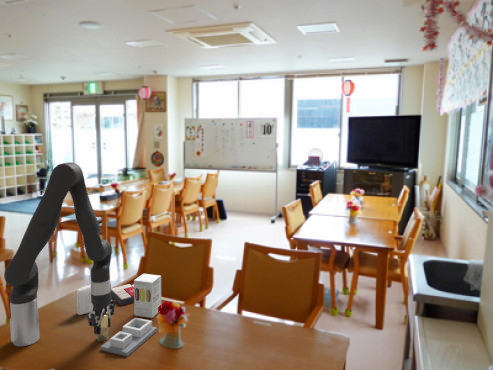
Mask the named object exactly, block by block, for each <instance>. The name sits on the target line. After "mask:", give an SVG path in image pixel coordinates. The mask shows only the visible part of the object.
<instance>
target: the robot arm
mask: <svg viewBox="0 0 493 370" xmlns="http://www.w3.org/2000/svg"><path fill="white" fill-rule="evenodd" d="M68 193H69V194H70V196H71V199H72V202H73V210H74V216H75V219H76V224H77V225H78V228H79V230H80V232H81V235H82V237H83V238H82V239H83V245H84V249H85V253H86V255H87V257H88V259H89V260H90V261H92V262H93V264H92V266H91V268H90V285H91V303H92V304H93V311H92V312H89V313H86V317H87V321H88V326H89V327H93V333H94V335H95V336H97V335H99V334H100V321H101V320H102V317H103V315H104V314H106V313H107V314H108V329H109V328H111V319H112V316H114V314H115V306H116V300H115V299H112V297H111V288H112V283H111V274H110V273H111V271H110V270H111V269H110V268H111V267H110V266H111V261H112V260H111V259H112V246H111V244H110V242H109V241H108V240H107V239H101V232H102V228H101V226H100V223H99V220H98V218H97V215H96V214H95V213H96V212H95V211H94V208H93V205H92V203H91V200H90V197H89V193H88V189H87V186H86V181H85V176H84V172H83V169H82V167H81V166H80V165H79V164H77V163H75V162H72V161H71V162H63V163H59V164H57V165H56V166H54V168H53V169H52V171H51V173H50V176H49V179H48V181H47V185H46V188H45V190H44V193H43V195H42V197H41V199H40V201H39V202H38V205H37V206H36V209H35V211H34V212H33V214H32V216H31V218H30V220H29V222H28V224H27V228H26V230H25V232H24V234H23V236H22V238H21V241H20V244H19V246H18V248H17V250H16V252H15V254H14V255H13V257H12V258H11V261H9V264H8V265H7V266H6V268H5V270H4V274H3V275H4V281H5V282H6V284H7V285H8V286H9V287H12V290H11V292H10V294H9V307H10V318H9V328H10V330H9V331H10V341H11V343H12V344H13V346H15V347H26V346H30V345H33V344H35V343H36V342H38V341H39V340H40V336H41V335H40V320H39V307H38V291H39V268H38V265H37V262H36V260H37V258H38V256H39V255H40V253H41V252H42V251H43V249H45V247H46V246H47V244H48V242H49V241H50V240H51V238H52V237H53V235H54V233H55V231H56V229H57V227H58V224H59V222H60V219H61V216H62V215H61V214H62V207H63V203H64V201H65V199H66V196H67V194H68ZM96 316H99V318H98V317H96ZM96 320H98V321H97V323H96Z"/></svg>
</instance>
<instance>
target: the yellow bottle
mask: <svg viewBox="0 0 493 370" xmlns="http://www.w3.org/2000/svg"><path fill="white" fill-rule="evenodd" d="M96 317H98V318H99V316H96ZM97 321H98V320H96V323H97ZM109 339H110V338H109V328H108V314H107V313H106V314H104V315H103V317H102V320H101V321H100V334H99V335H96V341H98V342H105V341H106V342H107V341H108V340H109Z"/></svg>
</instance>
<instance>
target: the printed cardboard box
mask: <svg viewBox="0 0 493 370" xmlns="http://www.w3.org/2000/svg"><path fill="white" fill-rule="evenodd" d="M111 299H113V300H115V302H116V303H117V304H118V305H120V306H124V305H129V304H131V303H132V304H133V303H134V285H132V284H130V283H128V284H124V285H120V286H116V287H111Z"/></svg>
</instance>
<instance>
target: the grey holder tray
mask: <svg viewBox="0 0 493 370" xmlns="http://www.w3.org/2000/svg"><path fill="white" fill-rule="evenodd" d="M157 331H158V327H157V326H153V320H149V319H144V318H138V317H134V318H132V319H131V320H130V321H128V322H127V323H126V324H124V325H122V330H121V331H120V330H119V331H118V332H117V333H116V334H114V335H113V336H112V337H110V338H109V339H108V340H106V342H105V343H104V344H102V345H100V351H104V352H107V353H110V354H111V353H112V354H116V355H120V356H123V357H129V356H130V355H131V354H132V353H133V352H134V351H136V350H137V349H138V348H139V347H140V346H141V345H143V344H144V343H145V342H146V341H147V340H148V339H150V338H151V337H152V336H153V335H154V334H155V333H156V332H157Z"/></svg>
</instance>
